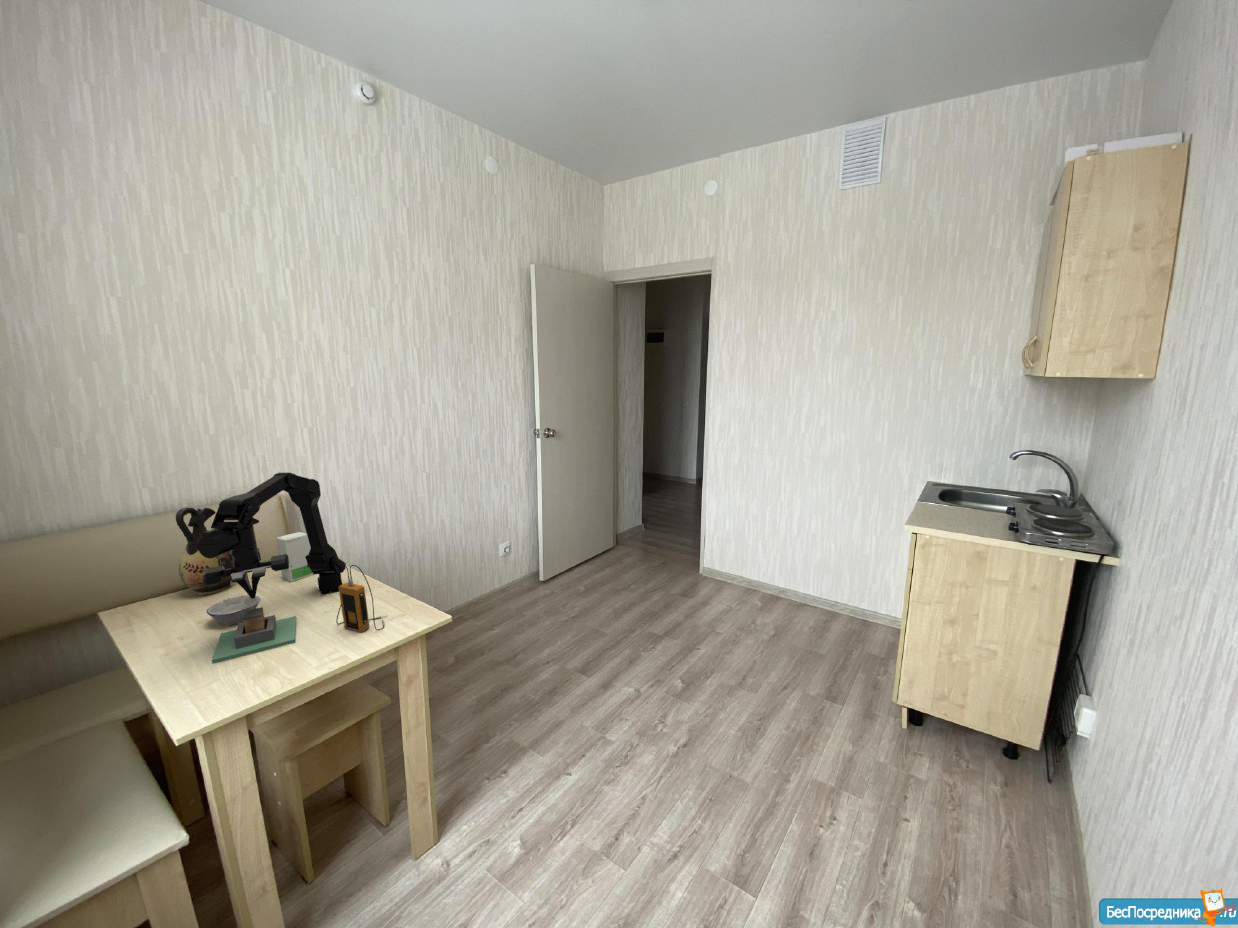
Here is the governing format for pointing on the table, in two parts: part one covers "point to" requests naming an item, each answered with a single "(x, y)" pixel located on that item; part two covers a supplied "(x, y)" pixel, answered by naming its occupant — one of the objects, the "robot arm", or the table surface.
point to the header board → (255, 639)
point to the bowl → (232, 609)
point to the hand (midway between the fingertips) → (253, 597)
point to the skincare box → (295, 555)
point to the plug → (254, 620)
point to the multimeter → (355, 605)
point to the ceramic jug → (192, 560)
